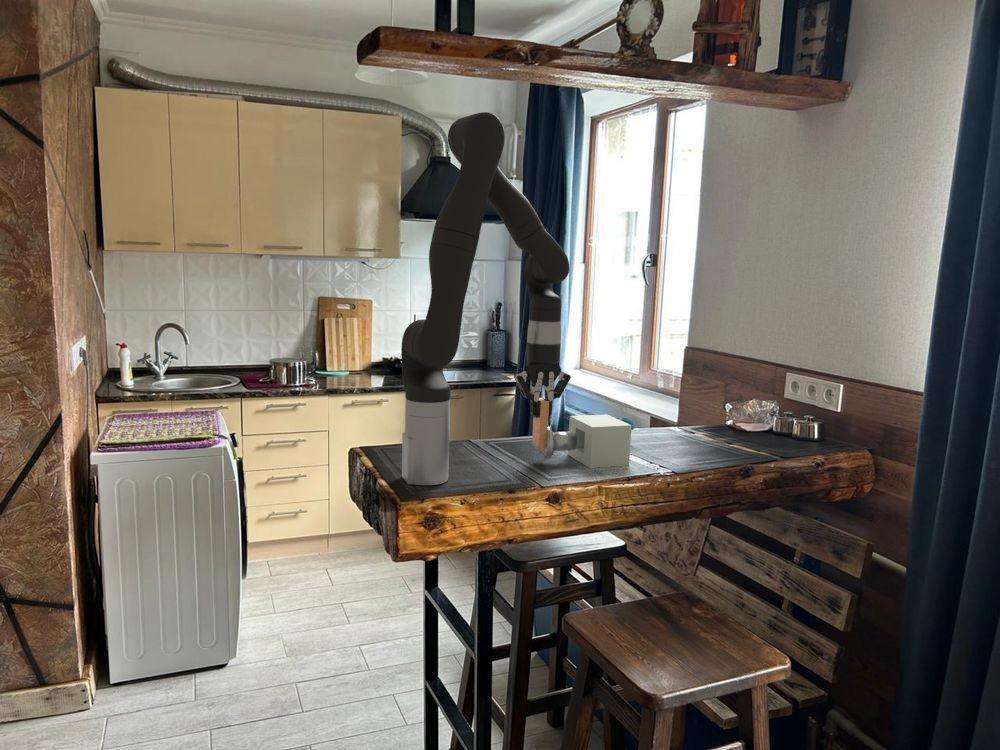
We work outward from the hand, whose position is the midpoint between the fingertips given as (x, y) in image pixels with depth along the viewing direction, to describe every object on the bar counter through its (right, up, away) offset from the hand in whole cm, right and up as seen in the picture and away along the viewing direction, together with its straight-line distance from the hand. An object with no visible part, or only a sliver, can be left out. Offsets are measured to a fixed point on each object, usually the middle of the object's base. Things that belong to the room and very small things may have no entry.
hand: (540, 416), depth 168 cm
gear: (+19, -9, +23) cm, 31 cm away
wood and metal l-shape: (+3, -10, +3) cm, 10 cm away
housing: (+14, -11, +7) cm, 19 cm away
